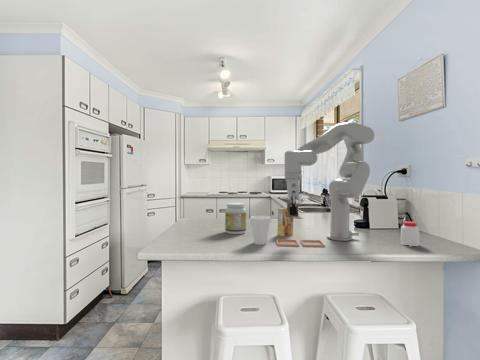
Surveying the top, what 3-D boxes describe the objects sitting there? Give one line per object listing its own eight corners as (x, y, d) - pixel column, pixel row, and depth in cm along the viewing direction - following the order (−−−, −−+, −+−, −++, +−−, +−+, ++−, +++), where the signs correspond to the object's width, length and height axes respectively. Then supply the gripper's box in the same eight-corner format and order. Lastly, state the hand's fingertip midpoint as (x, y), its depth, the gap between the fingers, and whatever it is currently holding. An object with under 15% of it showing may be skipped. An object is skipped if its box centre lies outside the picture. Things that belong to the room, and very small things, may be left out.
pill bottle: (416, 243, 146) (417, 221, 145) (420, 247, 138) (421, 224, 138) (399, 242, 148) (399, 220, 148) (402, 245, 141) (402, 223, 141)
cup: (273, 242, 145) (274, 216, 144) (265, 247, 136) (266, 219, 136) (255, 240, 150) (255, 215, 149) (246, 244, 141) (246, 217, 140)
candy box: (287, 233, 166) (288, 206, 166) (293, 235, 163) (294, 207, 163) (277, 235, 161) (277, 208, 160) (282, 237, 157) (283, 208, 157)
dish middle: (296, 242, 147) (296, 239, 147) (299, 247, 137) (299, 244, 137) (276, 241, 147) (276, 239, 147) (277, 246, 137) (277, 244, 137)
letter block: (297, 214, 144) (297, 202, 144) (298, 216, 139) (298, 203, 139) (286, 214, 144) (286, 202, 144) (287, 216, 139) (287, 203, 139)
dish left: (320, 242, 146) (320, 240, 146) (325, 247, 136) (325, 245, 136) (300, 242, 146) (300, 239, 146) (303, 247, 137) (303, 244, 136)
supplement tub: (223, 230, 173) (223, 202, 173) (243, 230, 176) (243, 201, 175) (227, 235, 161) (227, 204, 161) (248, 234, 164) (248, 204, 164)
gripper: (302, 177, 132) (302, 217, 133) (298, 176, 149) (298, 211, 150) (286, 177, 133) (286, 217, 133) (283, 176, 150) (283, 211, 150)
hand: (292, 213), depth 142 cm, fingers closed on letter block, 5 cm apart
